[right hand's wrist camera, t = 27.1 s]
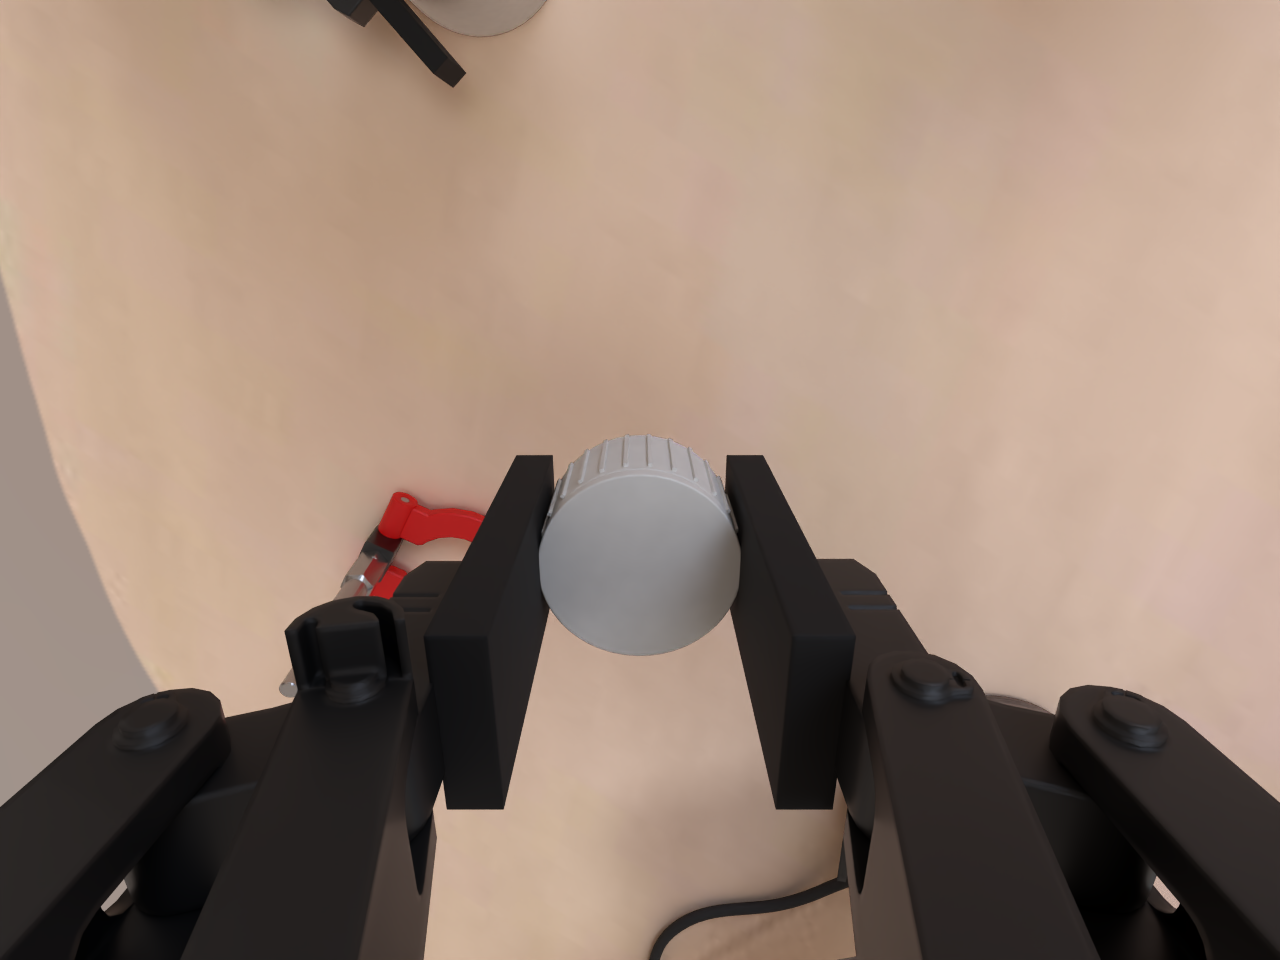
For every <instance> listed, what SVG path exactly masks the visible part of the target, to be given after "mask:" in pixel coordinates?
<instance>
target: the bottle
mask: <svg viewBox="0 0 1280 960" xmlns="http://www.w3.org/2000/svg"><path fill="white" fill-rule="evenodd" d="M410 1H411V2H412V3H413V4H414V5H415V6H416V7H417V8H418V9H419V10H420V11H421V12H422V13H424V14H425V15H426V16H427V17H429V18H430V19H431V20H433V21H434V22H436V23H437V24H439V25H441V26H442V27H444V28H446V29H449V30H451V31H454V32H456V33H460V34H464V35H468V36H478V37H481V36H493V35H498V34H502V33H505V32H508V31H510V30H513V29H515V28H516V27H518V26H520V25H522V24H523V23H525V22H526V21H527V20H529V19H530V18H531V17H532V16H533V15H534V14H535V13H536V12H537V11H538V10H539V9H540V8H541V7H542V5H543V4H544V3H545V1H546V0H410Z"/></svg>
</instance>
